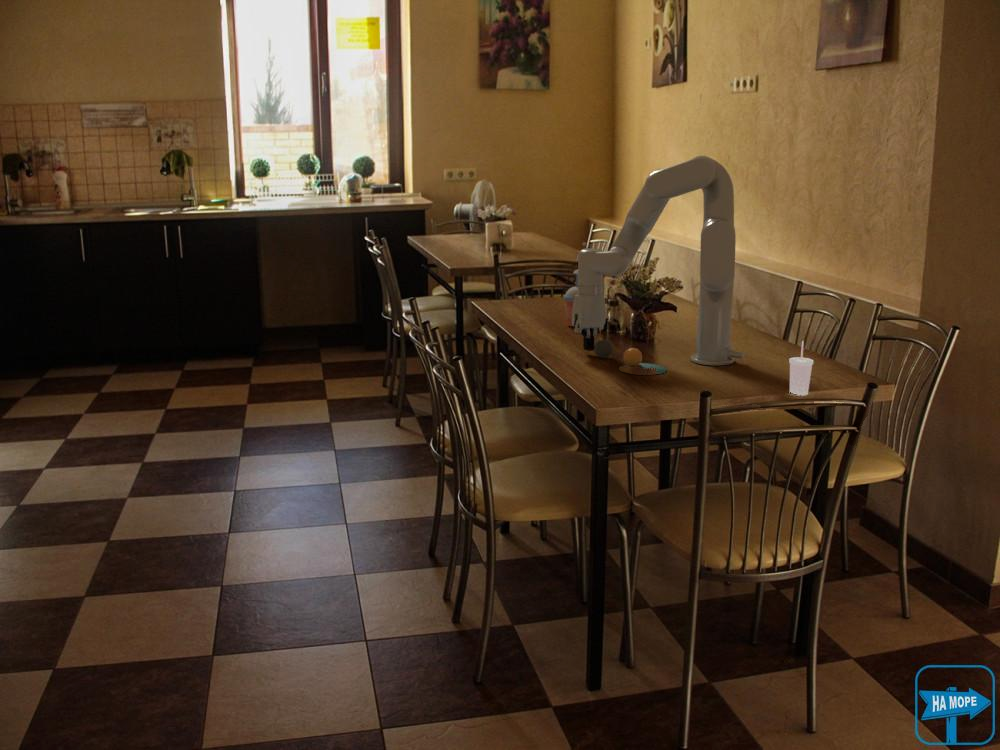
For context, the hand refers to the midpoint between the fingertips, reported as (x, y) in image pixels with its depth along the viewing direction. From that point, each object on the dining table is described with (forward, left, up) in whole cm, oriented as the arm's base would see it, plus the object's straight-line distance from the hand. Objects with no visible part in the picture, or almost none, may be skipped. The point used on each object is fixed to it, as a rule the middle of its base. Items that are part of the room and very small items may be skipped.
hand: (588, 349), depth 297 cm
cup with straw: (+19, -38, -2) cm, 43 cm away
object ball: (-17, +8, +1) cm, 19 cm away
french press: (+28, -70, -2) cm, 76 cm away
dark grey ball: (-5, +2, +1) cm, 6 cm away
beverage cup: (-65, +17, -2) cm, 67 cm away
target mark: (-20, +11, -2) cm, 23 cm away
